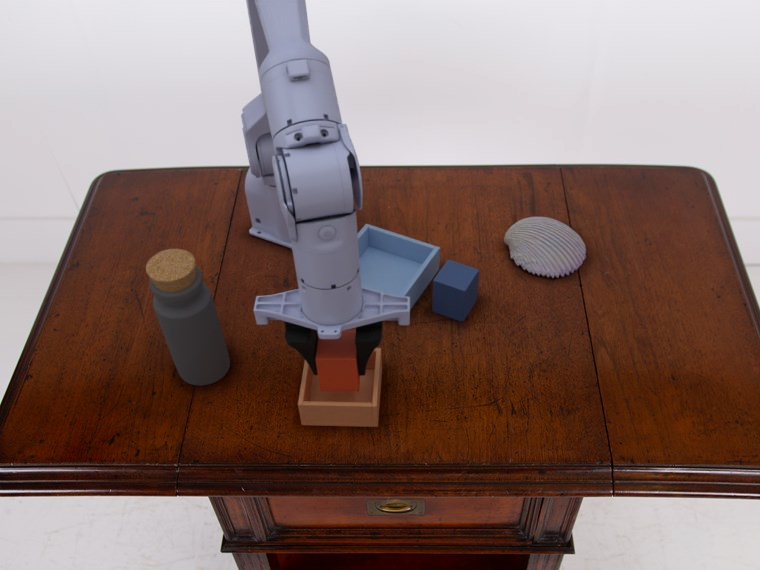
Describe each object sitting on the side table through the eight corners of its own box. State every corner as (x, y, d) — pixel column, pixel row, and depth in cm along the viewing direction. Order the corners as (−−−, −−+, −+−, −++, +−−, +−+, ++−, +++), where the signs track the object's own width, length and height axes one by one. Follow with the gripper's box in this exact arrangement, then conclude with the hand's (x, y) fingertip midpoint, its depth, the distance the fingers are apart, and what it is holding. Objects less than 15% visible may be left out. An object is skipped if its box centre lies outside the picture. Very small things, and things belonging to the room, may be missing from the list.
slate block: (432, 311, 89) (432, 280, 85) (446, 290, 91) (447, 259, 87) (462, 322, 88) (465, 291, 84) (476, 301, 90) (479, 269, 86)
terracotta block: (320, 391, 78) (315, 358, 74) (323, 362, 80) (318, 329, 76) (359, 391, 78) (356, 359, 74) (361, 362, 80) (358, 329, 76)
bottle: (207, 394, 82) (172, 293, 70) (166, 372, 84) (126, 271, 72) (241, 359, 85) (213, 257, 73) (202, 339, 87) (168, 236, 75)
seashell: (506, 200, 97) (586, 194, 94) (511, 235, 101) (588, 230, 98) (496, 250, 91) (582, 246, 88) (502, 285, 95) (584, 282, 92)
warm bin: (301, 425, 79) (297, 404, 76) (310, 367, 84) (306, 346, 81) (378, 427, 79) (376, 406, 76) (382, 369, 84) (381, 347, 81)
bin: (326, 295, 91) (324, 273, 88) (367, 245, 97) (366, 223, 94) (401, 322, 88) (401, 300, 85) (439, 269, 94) (440, 247, 91)
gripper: (239, 298, 65) (264, 397, 75) (408, 299, 64) (409, 398, 75) (251, 244, 69) (273, 345, 80) (410, 245, 69) (410, 346, 79)
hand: (339, 367), depth 78 cm, fingers closed on terracotta block, 4 cm apart
